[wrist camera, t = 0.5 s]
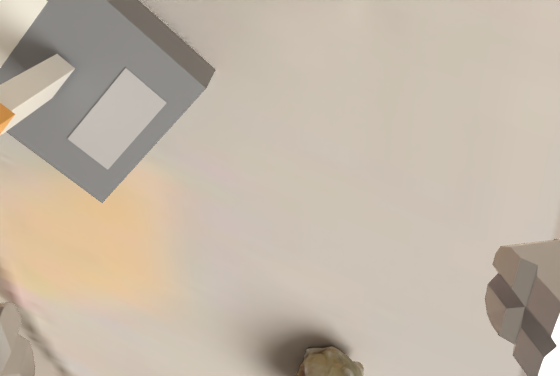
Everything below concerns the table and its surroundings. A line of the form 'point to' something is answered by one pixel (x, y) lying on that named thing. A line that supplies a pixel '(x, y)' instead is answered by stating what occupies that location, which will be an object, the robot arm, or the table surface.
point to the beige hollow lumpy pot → (329, 363)
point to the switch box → (99, 84)
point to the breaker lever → (31, 90)
